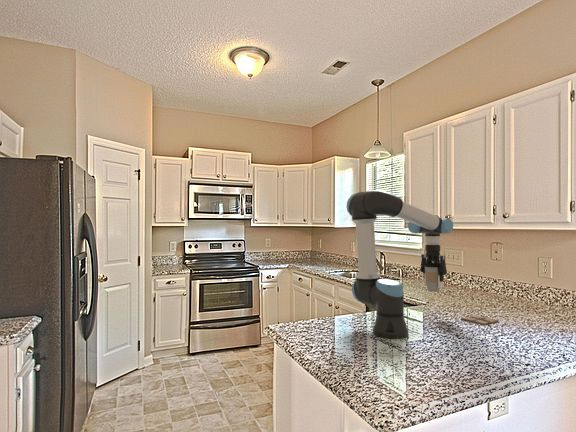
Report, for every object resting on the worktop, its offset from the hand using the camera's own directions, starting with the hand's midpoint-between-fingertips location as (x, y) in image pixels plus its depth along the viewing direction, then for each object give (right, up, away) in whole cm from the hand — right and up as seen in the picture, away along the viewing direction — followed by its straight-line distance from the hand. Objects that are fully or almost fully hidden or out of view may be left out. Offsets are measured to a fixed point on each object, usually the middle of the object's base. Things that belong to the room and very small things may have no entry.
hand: (433, 286), depth 190 cm
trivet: (+18, -15, -12) cm, 27 cm away
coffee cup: (0, -3, 0) cm, 3 cm away
